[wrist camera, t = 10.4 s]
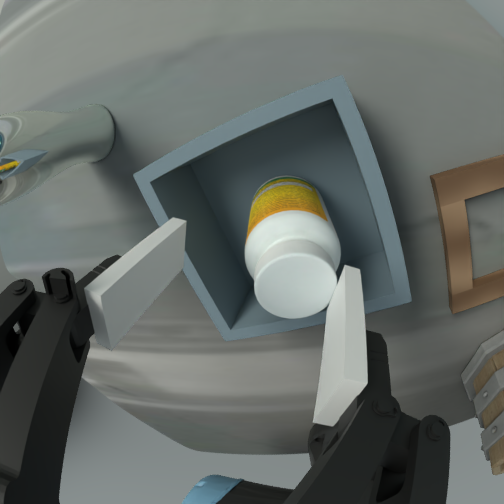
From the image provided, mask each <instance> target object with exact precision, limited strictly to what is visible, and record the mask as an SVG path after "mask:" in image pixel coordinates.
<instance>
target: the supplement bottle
mask: <svg viewBox="0 0 504 504" xmlns="http://www.w3.org/2000/svg"><path fill="white" fill-rule="evenodd" d="M340 257H341V248H340V242H339V239H338V236H337V233H336V231H335V228H334V226H333V223H332V221H331V218H330V216H329V214H328V211H327V209H326V206H325V203H324V201H323V198H322V196H321V194H320V193H319V191H318V190H317V189H316V187H315V186H314V185H312V184H311V183H310V182H309V181H307V180H305V179H303V178H300V177H296V176H288V175H286V176H278V177H275V178H272V179H270V180H268V181H267V182H265V183H264V184H263V185H261V186H260V188H259V189H258V190H257V192H256V193H255V195H254V198H253V201H252V205H251V211H250V218H249V224H248V232H247V238H246V243H245V262H246V266H247V269H248V271H249V273H250V275H251V277H252V278H253V279H254V291H255V295H256V298H257V300H258V302H259V303H260V305H261V306H262V307H263V308H264V309H265V310H267V311H268V312H270V313H271V314H273V315H276V316H279V317H283V318H288V319H289V318H290V319H297V318H304V317H308V316H311V315H314V314H316V313H318V312H320V311H321V310H323V309H324V308H325V307H327V306H328V304H329V303H330V301H331V299H332V296H333V294H334V291H335V289H336V286H337V284H338V282H337V276H336V271H337V268H338V266H339V262H340Z"/></svg>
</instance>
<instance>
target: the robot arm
mask: <svg viewBox="0 0 504 504" xmlns="http://www.w3.org/2000/svg"><path fill="white" fill-rule="evenodd" d="M186 222H187V221H185V220H181V219H178V218H174V217H173V218H171V219H170V220H169V221H167V222H166V223H165V224H163V225H162V226H161V227H159V228H158V229H157V230H155V231H154V232H153V233H152V234H150V235H149V236H148V237H146V238H145V239H144V240H142V241H141V242H140V243H139V244H137V245H136V246H135V247H134V248H132V249H131V250H130V251H129V252H127V253H126V254H125V255H124V256H119V255H115V256H113V257H110V258H107V259H106V260H104V261H103V262H102V263H101V264H99V266H97V267H96V268H94V269H93V271H91V272H89V273H88V274H87V275H86V276H84V277H83V278H82V279H81V280H79V281H78V282H77V283H76V284H75V280H74V276H73V273H72V272H71V271H70V270H69V269H65V268H56V269H52V270H50V271H48V272H46V273H45V274H44V275H43V276H42V279H43V283H44V287H45V290H46V293H42V292H37V291H35V288H34V285H33V283H32V282H31V281H30V280H27V279H20V280H17V281H14V282H13V283H11V284H10V285H9V286H8V287H7V288H6V289H5V290H4V291H3V292H2V293H1V294H0V504H60V503H59V490H60V481H61V473H62V466H63V459H64V453H65V447H66V442H67V436H68V431H69V426H70V422H71V417H72V412H73V408H74V404H75V399H76V395H77V391H78V387H79V384H80V380H81V376H82V373H83V369H84V365H85V362H86V359H87V355H88V352H89V349H90V341H89V338H90V337H91V336H92V335H93V334H95V338H96V341H97V343H98V344H100V345H102V346H104V347H105V348H107V349H109V350H111V351H112V350H113V349H114V348H115V346H116V345H117V344H118V343H119V342H120V340H121V339H122V338H123V337H124V336H125V334H126V333H127V332H128V331H129V330H130V329H131V327H132V326H133V325H134V324H135V323H136V321H137V320H138V319H139V318H140V317H141V316H142V314H143V313H144V312H145V311H146V310H147V309H148V307H149V306H150V305H151V304H152V303H153V302H154V300H155V299H156V298H157V297H158V296H159V295H160V294H161V292H162V291H163V290H164V289H165V288H166V287H167V286H168V284H169V283H170V282H171V281H172V280H173V279H174V278H175V277H176V275H177V274H178V273H179V272H180V271H181V270H182V269H183V268H184V251H185V236H186ZM16 323H17V324H18V326H19V328H20V329H19V330H18V331H17V332H15V331H14V329H13V326H14V325H15V324H16ZM313 423H316V424H315V425H314V426H313V427H312V429H311V430H310V434H309V440H308V451H309V455H310V461H311V466H312V467H311V469H310V470H309V471H308V473H307V474H306V475H305V476H304V478H303V479H302V481H301V482H300V483H299V484H298V486H297V487H296V488H295V489H294V490H293V489H286V488H280V487H273V486H268V485H263V484H258V483H253V482H249V481H244V479H234V478H229V477H225V476H221V475H210V476H207V477H205V478H203V479H201V480H200V481H199V482H198V483H197V484H196V485H195V486H194V487H193V488H192V489H191V491H190V492H189V493H188V495H187V496H186V498H185V499H184V500H183V502H182V504H446V497H447V489H448V477H449V463H450V430H449V427H448V425H447V423H446V422H445V421H444V420H443V419H442V418H440V417H438V416H436V415H429V416H426V417H424V418H423V419H422V420H421V421H419V420H417V419H415V418H413V417H411V416H409V415H406V414H405V413H403V412H401V409H400V405H399V403H398V402H397V400H396V399H395V398H394V397H393V396H392V395H391V385H390V374H389V364H388V356H387V345H386V342H385V341H384V339H383V337H382V335H381V334H379V333H375V332H371V331H367V330H366V329H365V315H364V303H363V292H362V283H361V274H360V269H357V268H354V267H350V266H347V265H345V266H344V268H343V271H342V273H341V276H340V279H339V281H338V284H337V286H336V289H335V291H334V294H333V296H332V299H331V301H330V304H329V306H328V309H327V314H326V325H325V335H324V345H323V354H322V362H321V370H320V378H319V385H318V393H317V399H316V406H315V412H314V419H313Z"/></svg>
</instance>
